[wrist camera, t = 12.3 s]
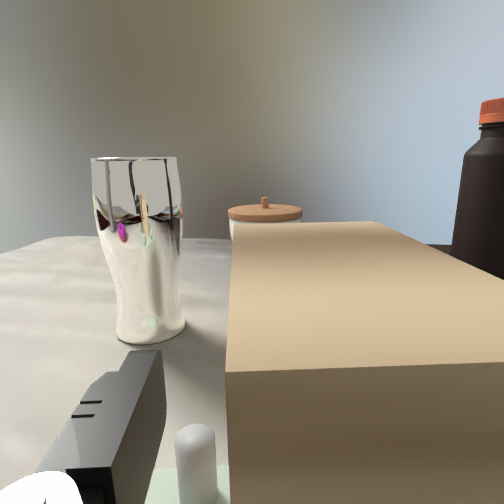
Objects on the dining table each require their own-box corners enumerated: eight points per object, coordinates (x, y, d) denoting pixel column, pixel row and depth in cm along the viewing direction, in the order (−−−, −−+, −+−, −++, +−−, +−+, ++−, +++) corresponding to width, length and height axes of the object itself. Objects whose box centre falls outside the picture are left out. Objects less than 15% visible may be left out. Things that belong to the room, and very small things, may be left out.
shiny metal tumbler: (172, 306, 36) (160, 157, 33) (203, 331, 31) (193, 156, 27) (102, 324, 33) (79, 158, 29) (123, 357, 27) (98, 157, 23)
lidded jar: (291, 249, 58) (291, 193, 56) (310, 268, 48) (312, 200, 46) (227, 252, 57) (225, 195, 54) (233, 273, 47) (231, 203, 44)
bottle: (436, 279, 43) (458, 106, 38) (493, 280, 43) (524, 104, 37) (463, 300, 37) (494, 95, 31) (532, 302, 36) (575, 92, 31)
